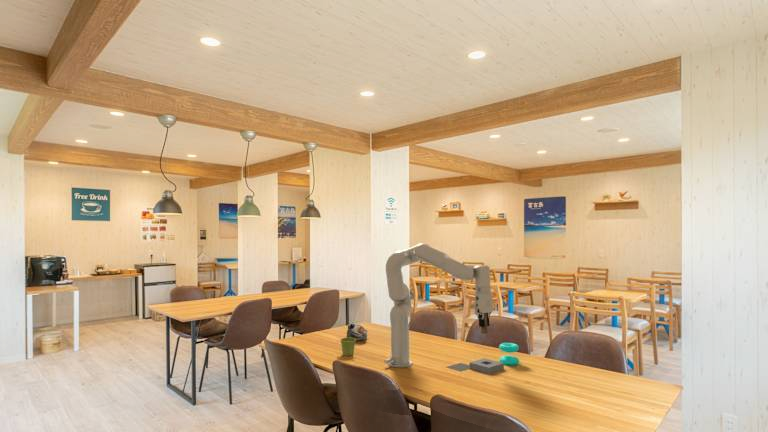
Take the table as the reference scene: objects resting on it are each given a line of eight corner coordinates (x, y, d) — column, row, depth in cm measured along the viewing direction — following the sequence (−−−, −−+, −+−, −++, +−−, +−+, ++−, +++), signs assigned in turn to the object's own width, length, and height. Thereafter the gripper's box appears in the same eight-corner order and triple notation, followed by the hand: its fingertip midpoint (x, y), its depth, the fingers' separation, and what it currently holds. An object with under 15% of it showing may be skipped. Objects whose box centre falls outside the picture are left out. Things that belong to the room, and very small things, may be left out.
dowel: (485, 333, 221) (484, 311, 221) (480, 332, 223) (479, 310, 224) (488, 332, 223) (487, 310, 223) (483, 331, 225) (483, 309, 226)
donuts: (498, 341, 239) (517, 342, 237) (499, 360, 238) (518, 361, 236) (499, 346, 229) (519, 347, 227) (500, 365, 229) (520, 366, 227)
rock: (370, 337, 296) (372, 321, 290) (362, 348, 286) (363, 331, 280) (351, 330, 301) (352, 313, 295) (342, 340, 291) (343, 323, 285)
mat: (460, 372, 218) (460, 371, 218) (445, 367, 226) (445, 367, 226) (475, 367, 226) (475, 366, 226) (460, 363, 233) (460, 362, 233)
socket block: (489, 375, 213) (489, 367, 214) (469, 369, 223) (469, 362, 223) (503, 370, 221) (503, 363, 221) (484, 365, 230) (484, 358, 230)
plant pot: (357, 352, 258) (357, 337, 259) (354, 357, 249) (354, 341, 249) (341, 352, 259) (341, 337, 260) (338, 356, 250) (338, 341, 250)
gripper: (478, 291, 216) (480, 329, 215) (498, 288, 227) (500, 325, 225) (466, 290, 222) (467, 327, 221) (486, 287, 232) (488, 323, 231)
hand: (484, 326), depth 223 cm, fingers closed on dowel, 3 cm apart
